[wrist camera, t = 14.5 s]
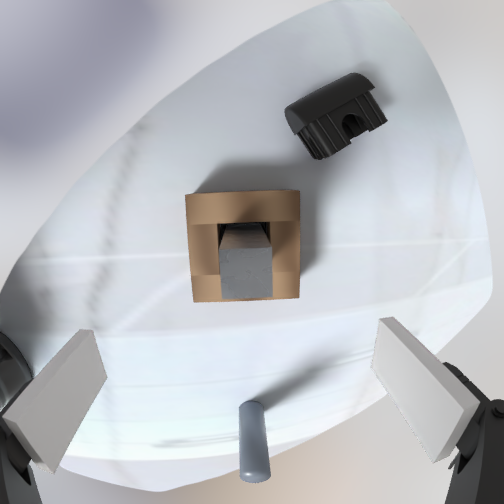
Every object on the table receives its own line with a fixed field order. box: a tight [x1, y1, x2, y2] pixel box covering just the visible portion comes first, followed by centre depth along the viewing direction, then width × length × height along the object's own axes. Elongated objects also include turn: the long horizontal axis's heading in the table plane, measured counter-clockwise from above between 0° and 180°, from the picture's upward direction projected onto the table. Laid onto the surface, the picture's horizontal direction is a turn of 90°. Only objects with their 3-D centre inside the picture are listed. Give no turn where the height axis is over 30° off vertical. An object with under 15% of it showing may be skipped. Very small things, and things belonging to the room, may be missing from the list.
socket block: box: [185, 190, 300, 302], centre depth 33 cm, size 12×12×5 cm
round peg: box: [239, 401, 271, 483], centre depth 35 cm, size 4×4×14 cm
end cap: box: [285, 73, 388, 160], centre depth 29 cm, size 10×7×7 cm
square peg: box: [219, 223, 273, 299], centre depth 29 cm, size 4×4×14 cm
